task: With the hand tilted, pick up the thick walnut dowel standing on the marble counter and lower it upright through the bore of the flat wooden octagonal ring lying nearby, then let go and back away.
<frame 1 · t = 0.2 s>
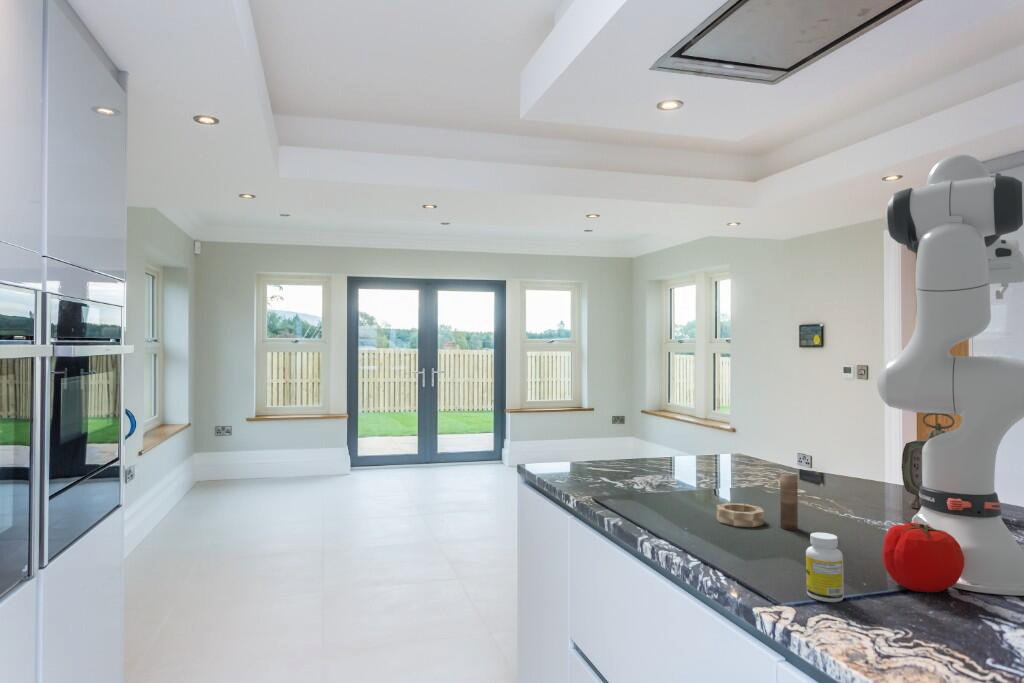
hand: (976, 299, 162), 54 cm above the worktop, tool tilted 30°, fingers open, 8 cm apart
supplement bottle: (824, 598, 101), on the worktop
brown wooden cylinder: (789, 528, 143), on the worktop
tomato: (922, 590, 105), on the worktop
tabletop clock: (939, 510, 161), on the worktop
wooden octagonal ring: (740, 520, 149), on the worktop
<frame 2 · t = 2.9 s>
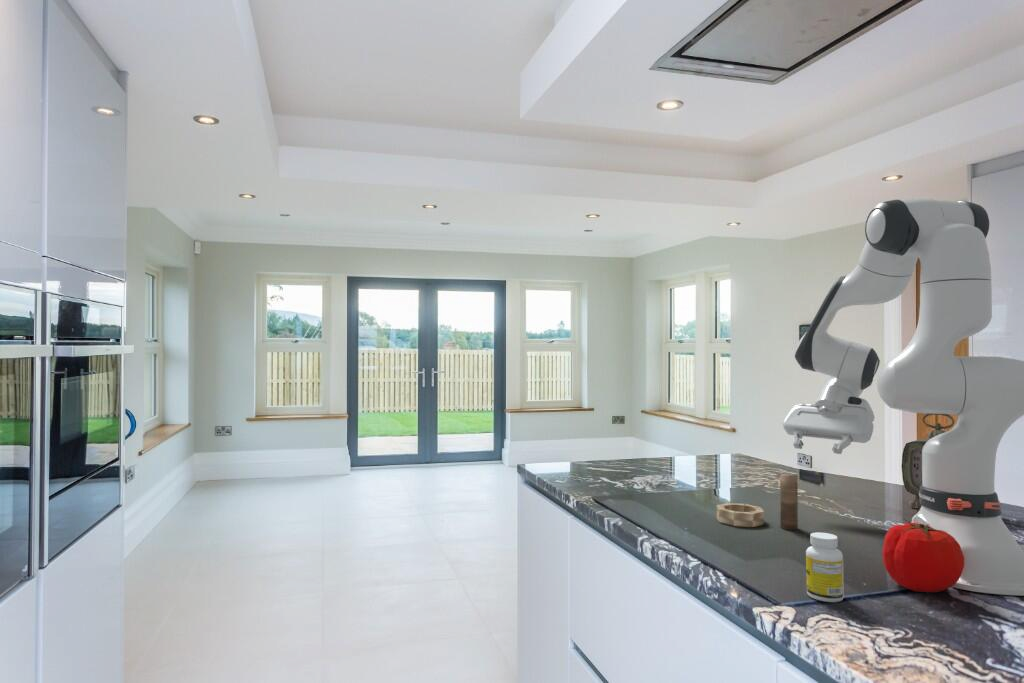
hand: (816, 449, 151), 17 cm above the worktop, tool tilted 45°, fingers open, 8 cm apart
nothing on the worktop moved.
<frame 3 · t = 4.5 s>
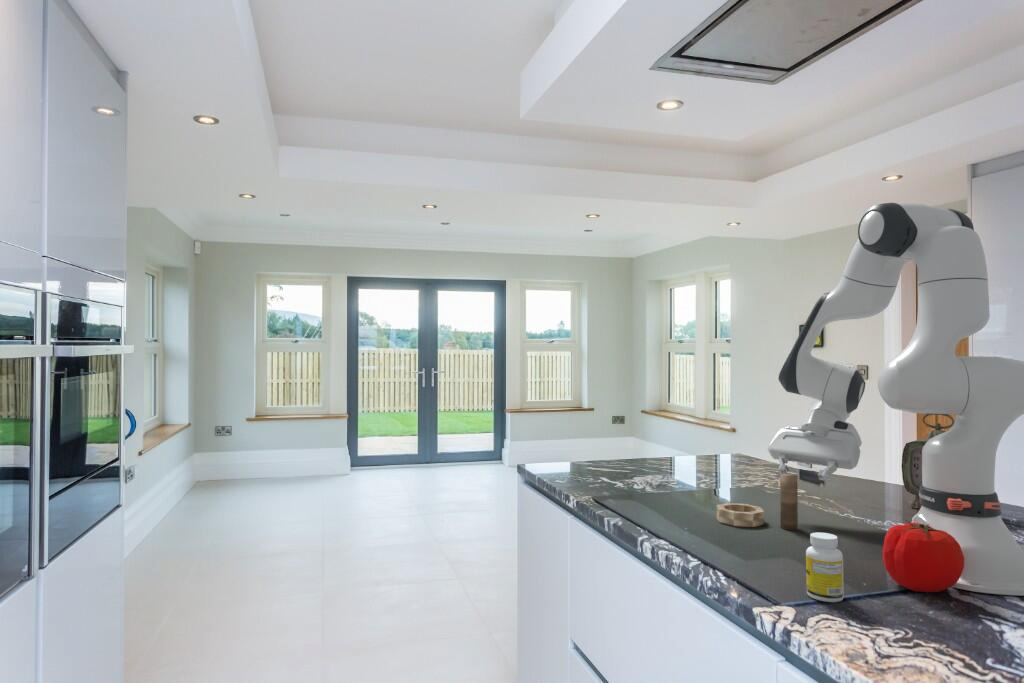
hand: (801, 475, 147), 11 cm above the worktop, tool tilted 45°, fingers open, 8 cm apart
nothing on the worktop moved.
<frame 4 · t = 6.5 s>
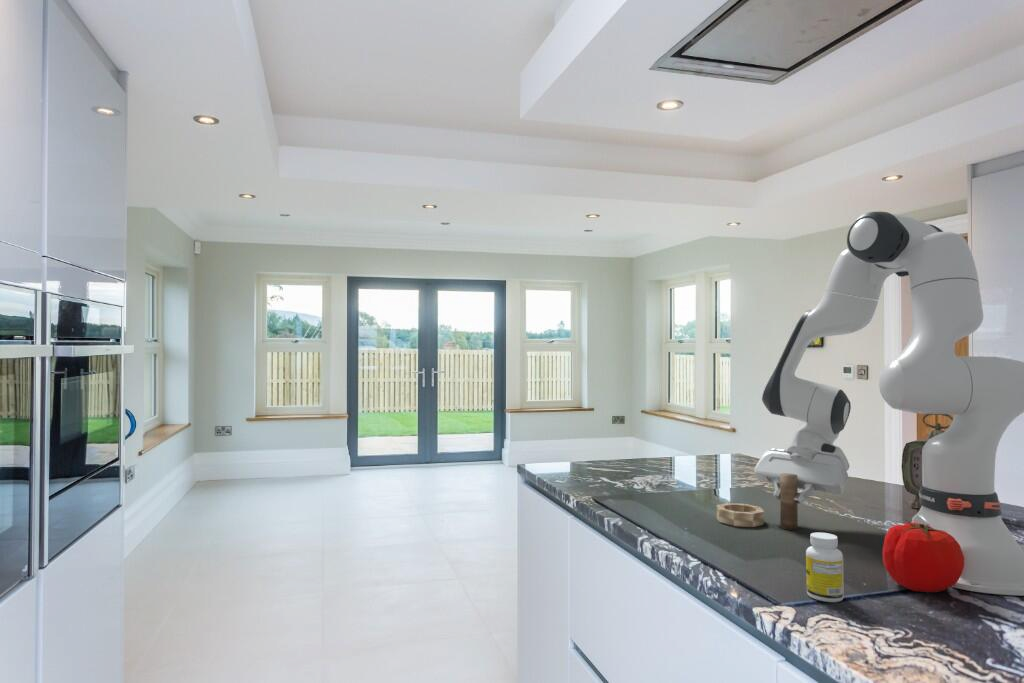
hand: (787, 500, 143), 6 cm above the worktop, tool tilted 45°, fingers closed on brown wooden cylinder, 4 cm apart
brown wooden cylinder: (789, 528, 143), on the worktop, touching gripper
everything else where it was.
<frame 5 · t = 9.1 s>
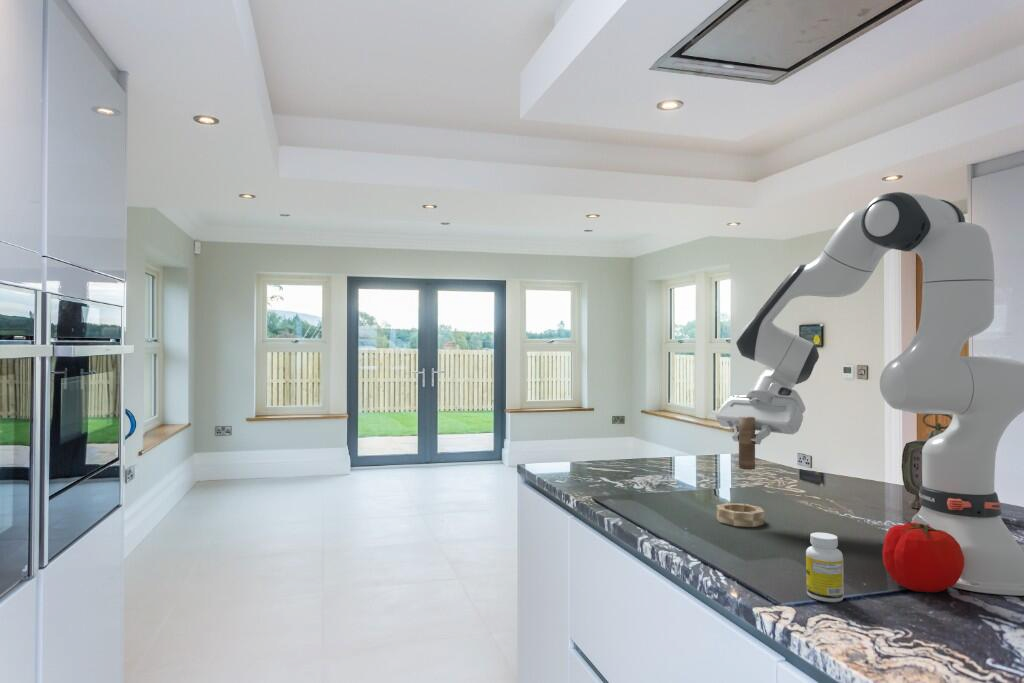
hand: (745, 441, 148), 19 cm above the worktop, tool tilted 45°, fingers closed on brown wooden cylinder, 4 cm apart
brown wooden cylinder: (746, 468, 149), point 13 cm above the worktop, touching gripper
everything else where it was.
when the fingers open (8 cm above the worktop, at t = 12.1 s): brown wooden cylinder drops 2 cm, resting in wooden octagonal ring.
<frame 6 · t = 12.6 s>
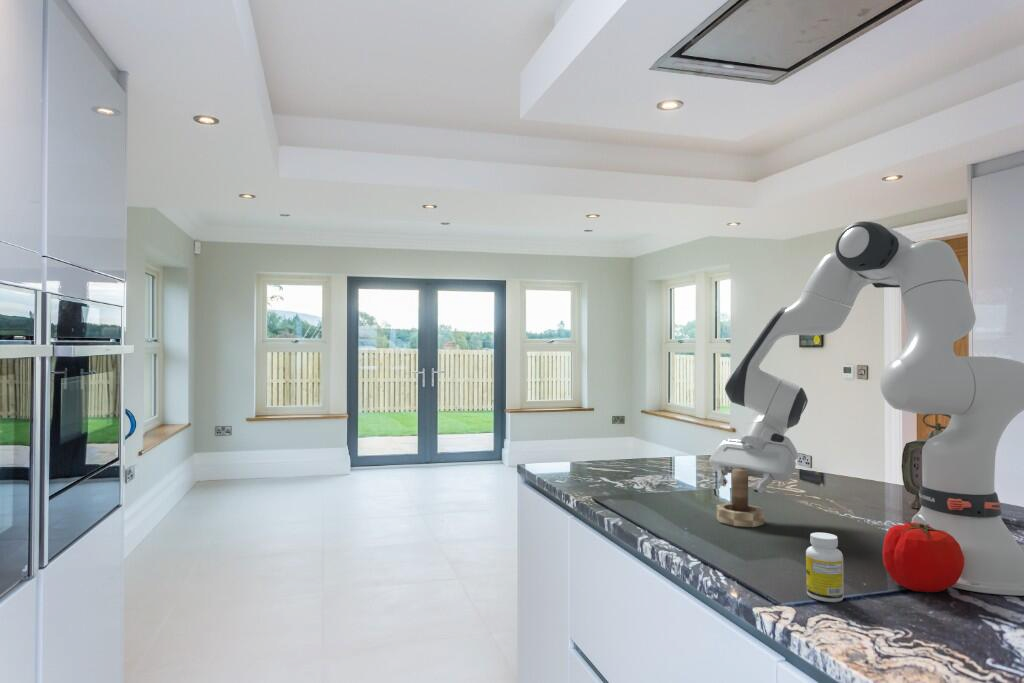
hand: (738, 487, 149), 8 cm above the worktop, tool tilted 45°, fingers open, 8 cm apart
brown wooden cylinder: (740, 521, 149), resting in wooden octagonal ring
everything else where it was.
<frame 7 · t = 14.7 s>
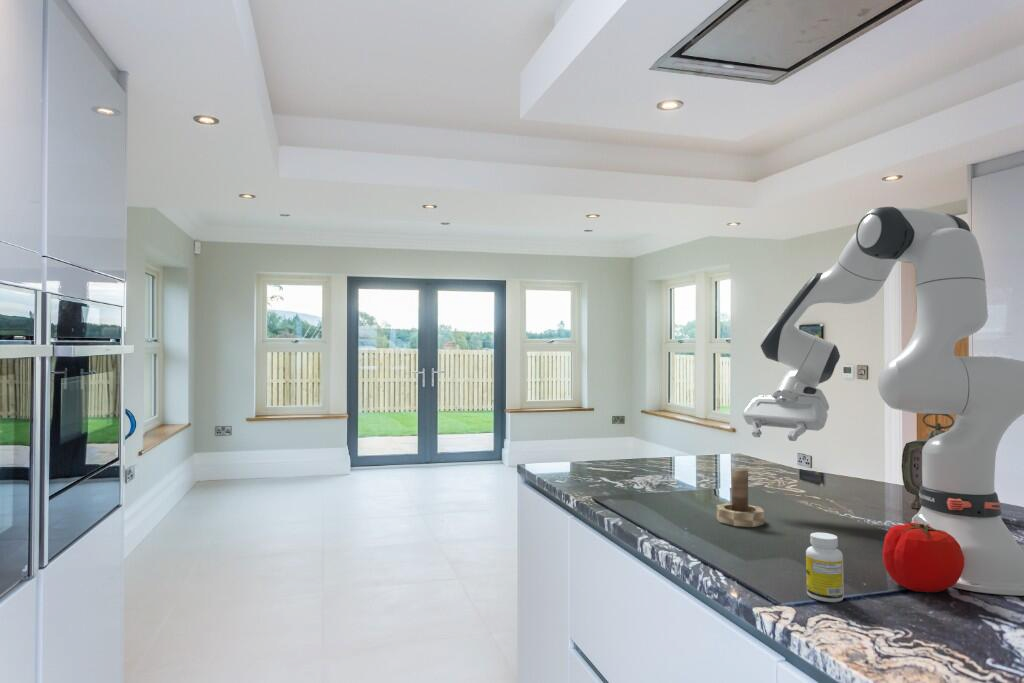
hand: (772, 437, 157), 19 cm above the worktop, tool tilted 45°, fingers open, 8 cm apart
nothing on the worktop moved.
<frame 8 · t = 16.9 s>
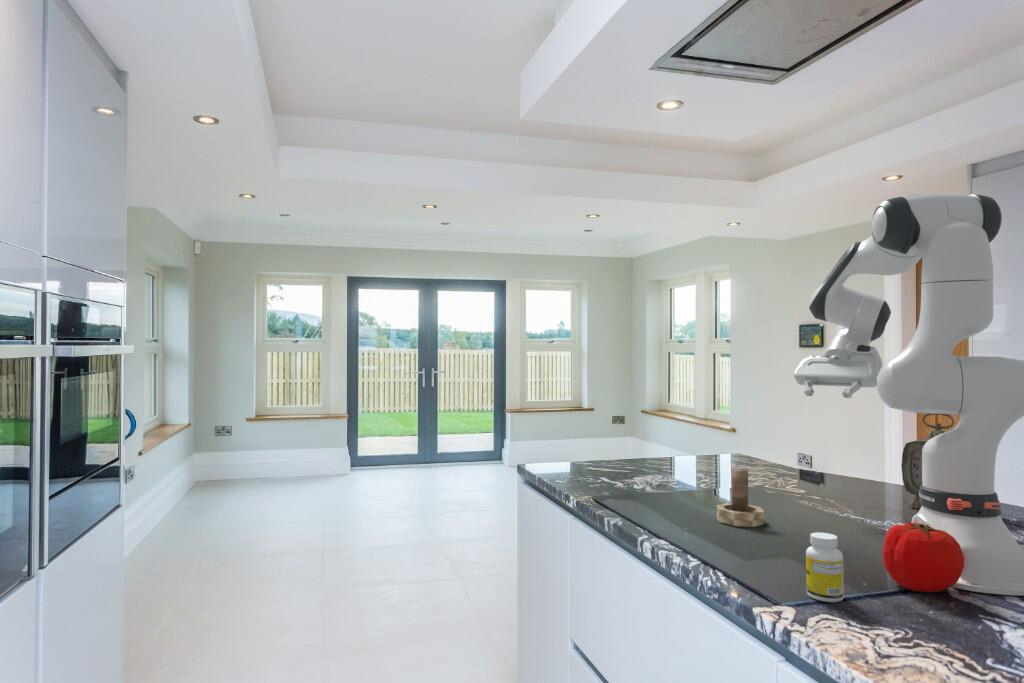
hand: (826, 395, 157), 29 cm above the worktop, tool tilted 45°, fingers open, 8 cm apart
nothing on the worktop moved.
at the end: brown wooden cylinder 0.0 cm from the wooden octagonal ring (horizontally); brown wooden cylinder tilted 0°; brown wooden cylinder resting in wooden octagonal ring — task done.
